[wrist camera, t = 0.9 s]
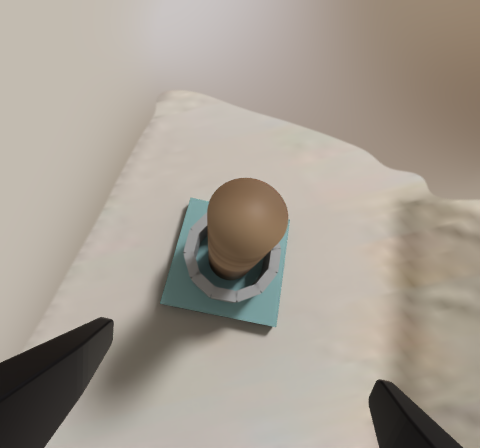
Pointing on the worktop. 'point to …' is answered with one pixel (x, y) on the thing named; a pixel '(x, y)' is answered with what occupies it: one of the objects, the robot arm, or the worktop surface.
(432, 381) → the worktop surface
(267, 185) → the walnut peg
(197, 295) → the ring stand
